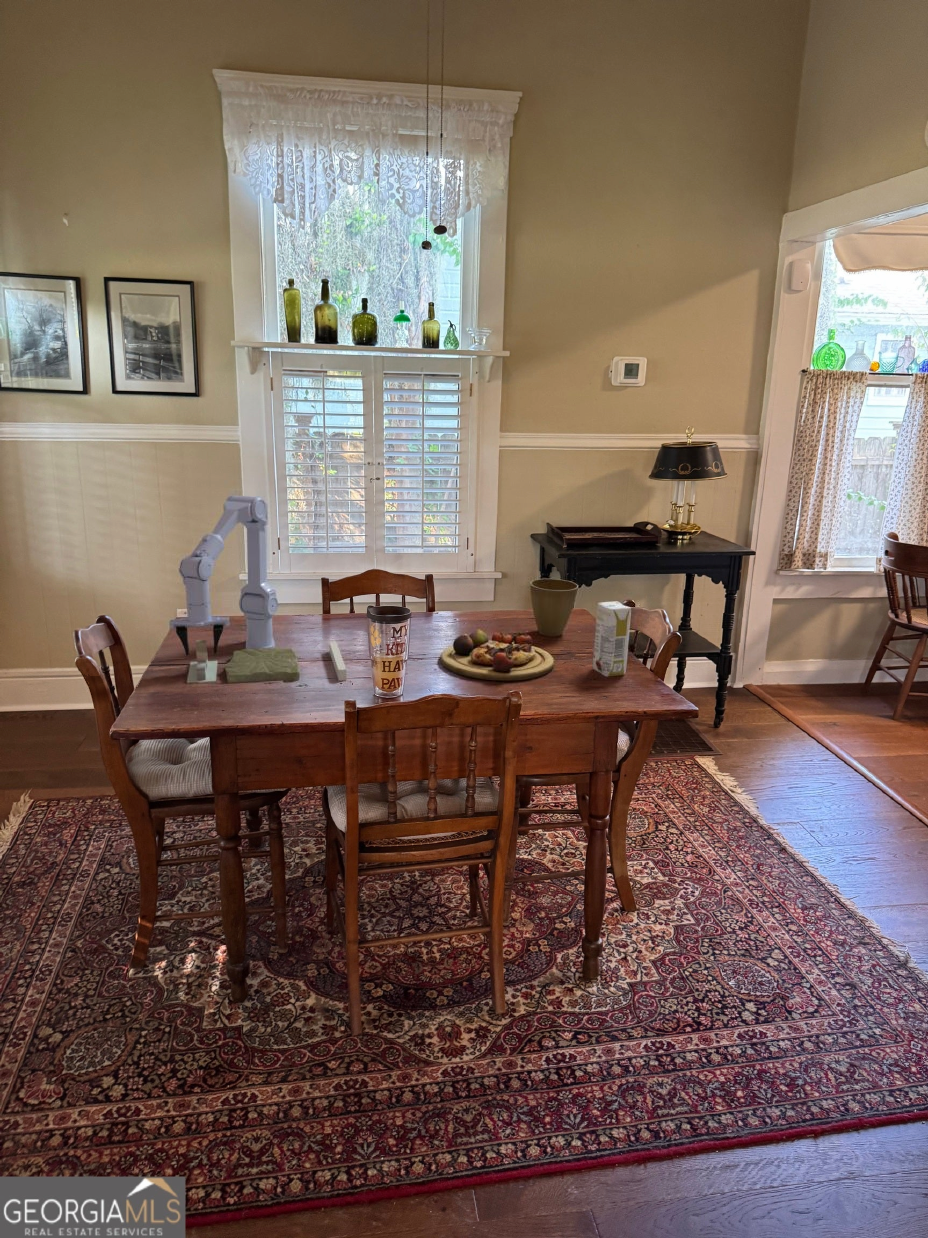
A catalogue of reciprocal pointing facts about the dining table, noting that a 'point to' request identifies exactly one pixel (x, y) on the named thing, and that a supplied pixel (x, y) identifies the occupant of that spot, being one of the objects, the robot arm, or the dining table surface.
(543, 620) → the plant pot
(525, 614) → the dining table surface
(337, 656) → the rail
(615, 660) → the juice carton
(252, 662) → the decorative tile
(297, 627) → the dining table surface
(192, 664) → the mat
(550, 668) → the wooden plate with food
